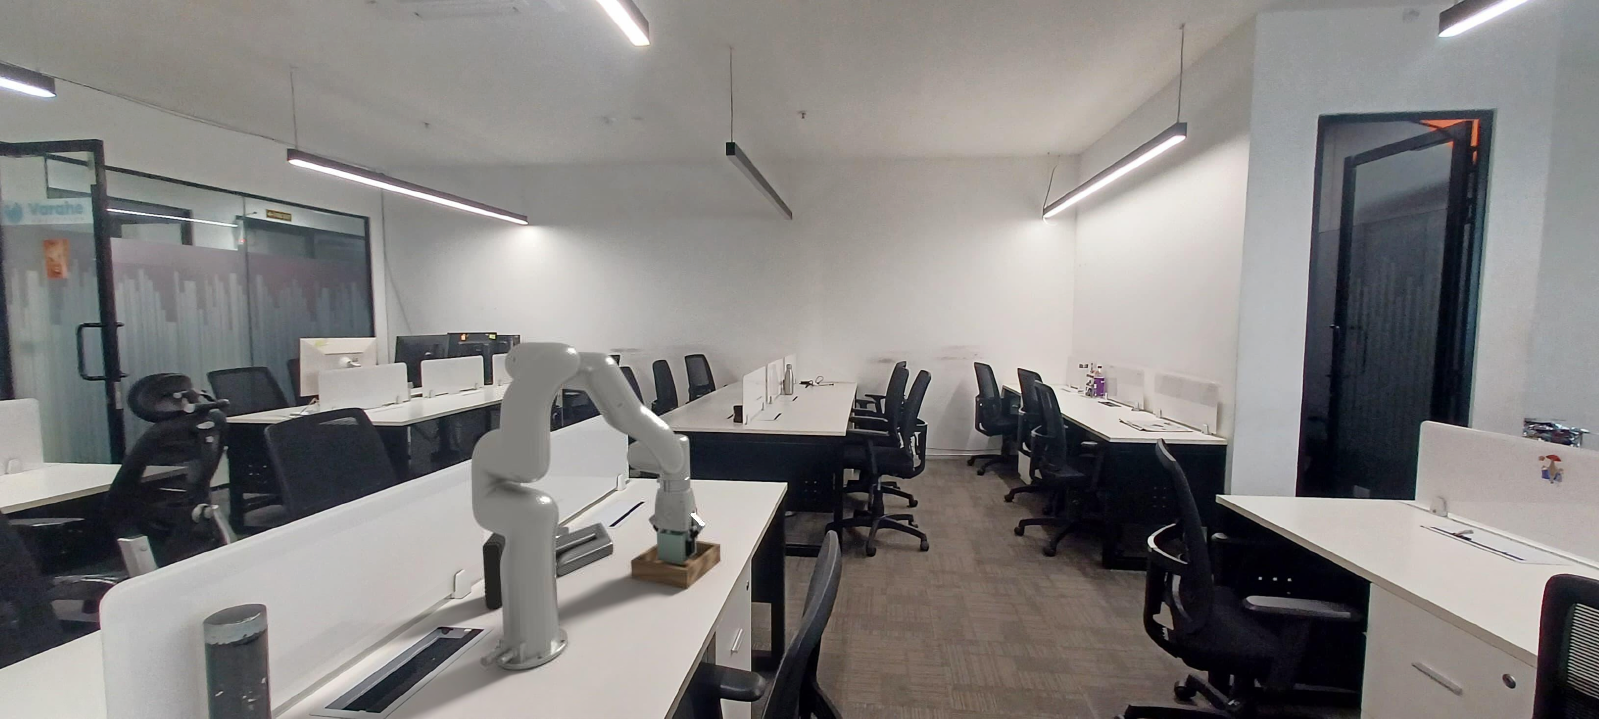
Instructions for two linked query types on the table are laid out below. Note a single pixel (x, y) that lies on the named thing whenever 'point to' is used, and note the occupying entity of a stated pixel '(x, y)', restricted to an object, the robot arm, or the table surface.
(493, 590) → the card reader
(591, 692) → the table surface
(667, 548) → the small crate
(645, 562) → the walnut crate
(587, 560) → the emblem
